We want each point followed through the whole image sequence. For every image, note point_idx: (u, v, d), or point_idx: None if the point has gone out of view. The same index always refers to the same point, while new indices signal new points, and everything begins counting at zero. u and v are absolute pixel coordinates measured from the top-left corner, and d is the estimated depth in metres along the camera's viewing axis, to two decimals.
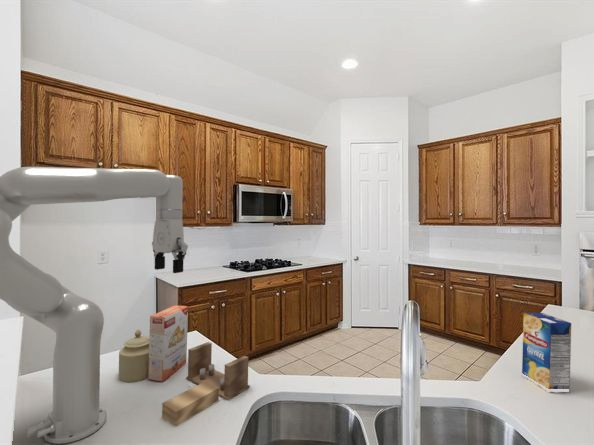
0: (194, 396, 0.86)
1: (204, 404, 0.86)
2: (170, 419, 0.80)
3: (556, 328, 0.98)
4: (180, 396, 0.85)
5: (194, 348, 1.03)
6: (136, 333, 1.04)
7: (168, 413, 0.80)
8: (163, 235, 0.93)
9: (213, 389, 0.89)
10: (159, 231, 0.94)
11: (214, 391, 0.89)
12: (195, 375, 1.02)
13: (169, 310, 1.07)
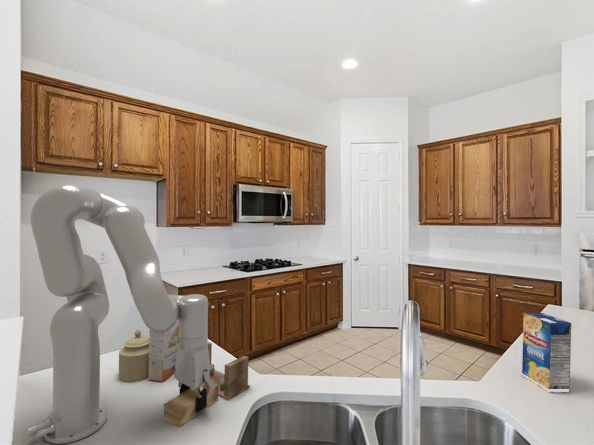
0: (195, 395, 0.86)
1: None
2: (174, 418, 0.79)
3: (556, 328, 0.98)
4: (181, 396, 0.85)
5: None
6: (136, 333, 1.04)
7: (171, 413, 0.80)
8: (187, 368, 0.83)
9: (213, 387, 0.90)
10: (183, 361, 0.84)
11: (214, 389, 0.89)
12: None
13: None
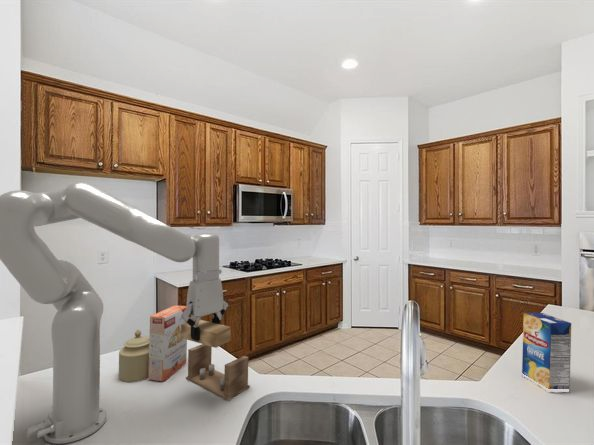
0: (203, 326, 0.91)
1: (202, 338, 0.88)
2: None
3: (556, 328, 0.98)
4: (205, 322, 0.95)
5: (194, 348, 1.03)
6: (136, 333, 1.04)
7: None
8: None
9: (213, 331, 0.87)
10: None
11: (211, 333, 0.87)
12: (195, 375, 1.02)
13: (169, 310, 1.07)
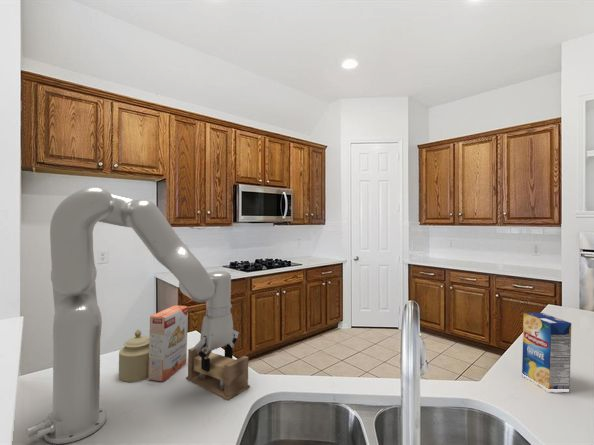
0: (214, 360, 0.99)
1: (214, 372, 0.96)
2: None
3: (556, 328, 0.98)
4: (216, 355, 1.02)
5: None
6: (136, 333, 1.04)
7: None
8: None
9: (224, 366, 0.95)
10: None
11: (223, 368, 0.94)
12: (195, 375, 1.02)
13: (169, 310, 1.07)
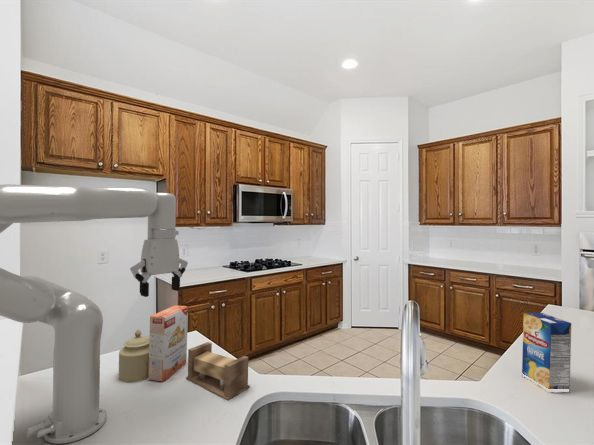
0: (214, 360, 0.99)
1: (214, 372, 0.96)
2: None
3: (556, 328, 0.98)
4: (216, 355, 1.02)
5: (194, 348, 1.03)
6: (136, 333, 1.04)
7: None
8: None
9: (224, 366, 0.95)
10: None
11: (223, 368, 0.94)
12: (195, 375, 1.02)
13: (169, 310, 1.07)
